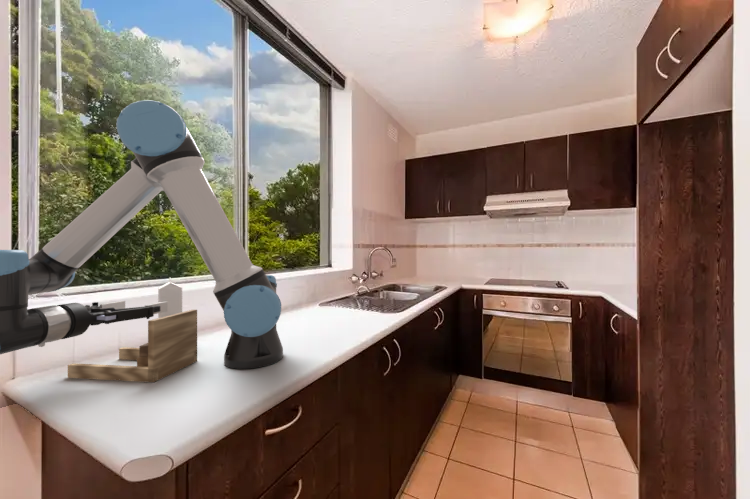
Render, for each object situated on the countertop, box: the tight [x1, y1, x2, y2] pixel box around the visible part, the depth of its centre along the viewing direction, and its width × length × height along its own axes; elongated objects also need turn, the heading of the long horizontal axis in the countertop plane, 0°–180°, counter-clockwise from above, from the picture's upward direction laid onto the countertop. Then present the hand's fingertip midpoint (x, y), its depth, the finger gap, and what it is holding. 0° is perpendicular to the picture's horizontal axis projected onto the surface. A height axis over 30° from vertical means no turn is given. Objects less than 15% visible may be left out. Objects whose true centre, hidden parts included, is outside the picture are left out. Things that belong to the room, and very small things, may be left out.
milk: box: [157, 276, 183, 318], centre depth 96 cm, size 6×6×22 cm
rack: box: [67, 309, 198, 383], centre depth 79 cm, size 23×14×14 cm, turn 82°
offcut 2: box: [136, 356, 148, 367], centre depth 78 cm, size 5×7×2 cm
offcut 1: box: [138, 342, 148, 357], centre depth 78 cm, size 5×6×2 cm
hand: (145, 305), depth 88 cm, fingers open, 13 cm apart
